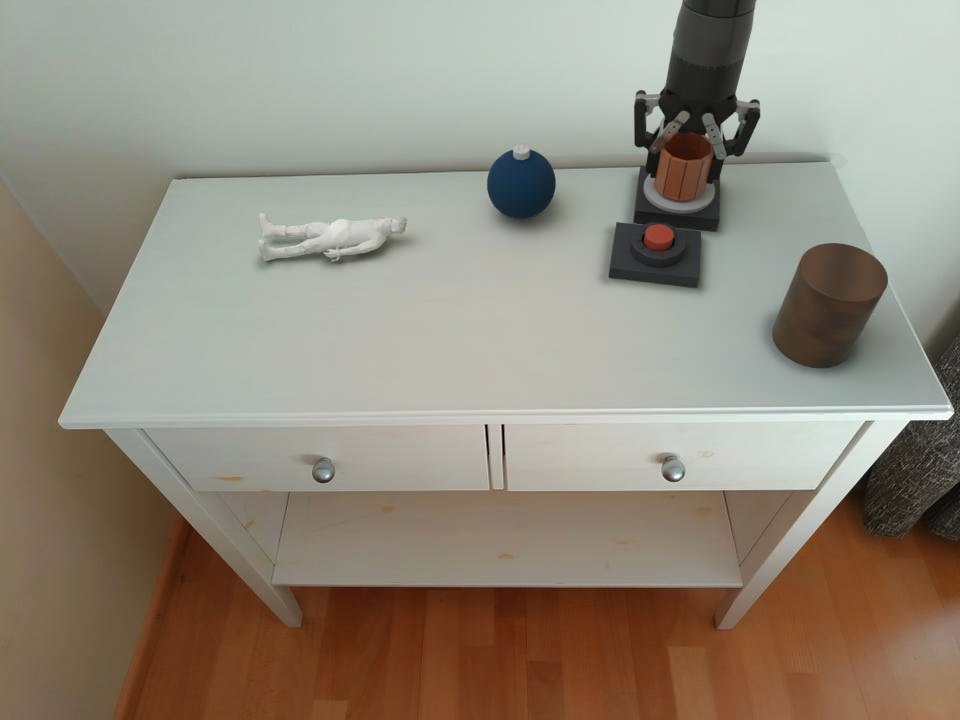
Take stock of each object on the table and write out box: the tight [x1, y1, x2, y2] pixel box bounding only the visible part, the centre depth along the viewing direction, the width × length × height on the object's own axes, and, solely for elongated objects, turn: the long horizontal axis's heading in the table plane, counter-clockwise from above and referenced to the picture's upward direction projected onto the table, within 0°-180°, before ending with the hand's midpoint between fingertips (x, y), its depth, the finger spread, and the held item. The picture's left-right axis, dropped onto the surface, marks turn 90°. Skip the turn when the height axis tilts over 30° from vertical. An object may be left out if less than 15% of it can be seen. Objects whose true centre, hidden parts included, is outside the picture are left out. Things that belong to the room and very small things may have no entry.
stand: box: [771, 242, 889, 369], centre depth 74 cm, size 8×8×10 cm
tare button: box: [644, 224, 674, 251], centre depth 84 cm, size 3×3×1 cm
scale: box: [632, 165, 721, 232], centre depth 92 cm, size 10×9×3 cm
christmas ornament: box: [486, 143, 557, 220], centre depth 89 cm, size 8×8×10 cm
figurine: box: [257, 212, 409, 263], centre depth 89 cm, size 7×4×18 cm
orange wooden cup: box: [654, 132, 714, 201], centre depth 88 cm, size 6×6×6 cm
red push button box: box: [608, 221, 702, 289], centre depth 85 cm, size 10×8×3 cm
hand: (681, 176), depth 89 cm, fingers closed on orange wooden cup, 6 cm apart
